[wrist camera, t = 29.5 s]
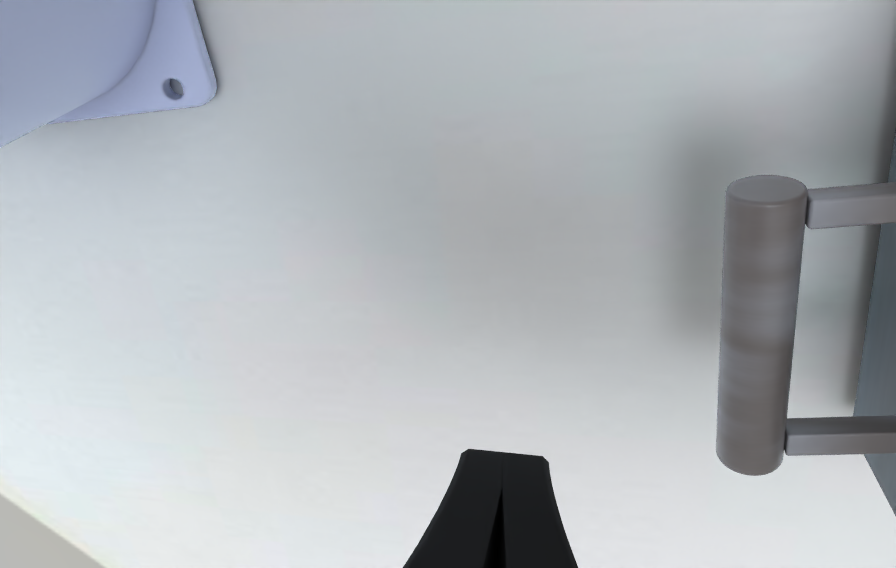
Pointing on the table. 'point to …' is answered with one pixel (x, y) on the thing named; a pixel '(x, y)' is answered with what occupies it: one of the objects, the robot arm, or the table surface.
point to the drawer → (774, 318)
